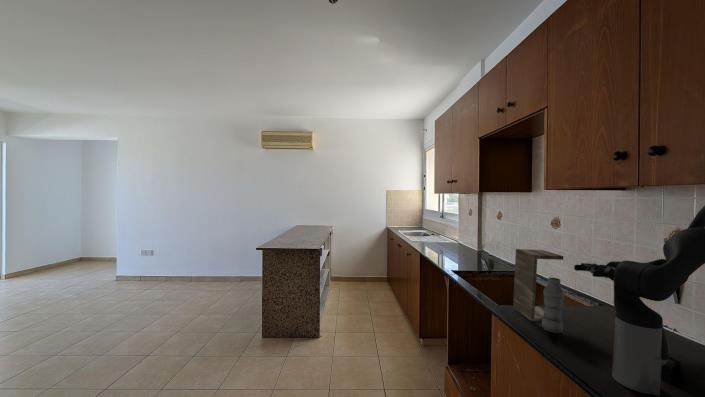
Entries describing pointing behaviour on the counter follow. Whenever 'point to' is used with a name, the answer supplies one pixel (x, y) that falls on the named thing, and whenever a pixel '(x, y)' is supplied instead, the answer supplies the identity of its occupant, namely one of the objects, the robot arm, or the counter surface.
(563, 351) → the counter surface
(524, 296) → the cubby shelf
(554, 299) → the plastic bottle
